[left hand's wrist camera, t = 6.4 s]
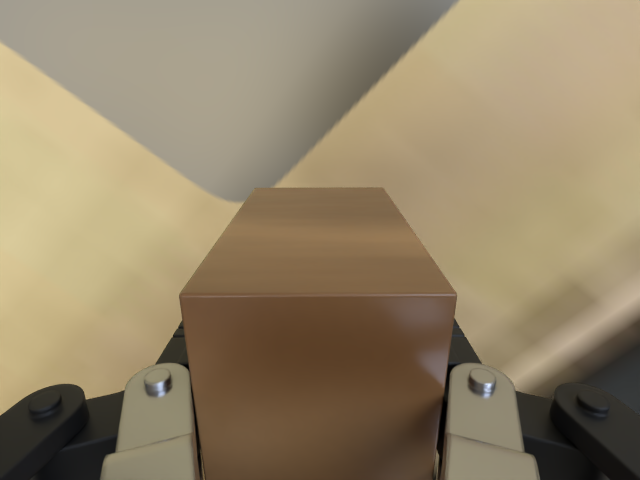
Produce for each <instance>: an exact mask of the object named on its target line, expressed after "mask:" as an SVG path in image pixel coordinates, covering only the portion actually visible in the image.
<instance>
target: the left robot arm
mask: <svg viewBox="0 0 640 480" xmlns="http://www.w3.org/2000/svg"><path fill="white" fill-rule="evenodd" d="M200 449H201V448H200V441H199V433H198V426H197V419H196V412H195V405H194V398H193V391H192V384H191V377H190V370H189V362H188V355H187V348H186V341H185V334H184V327H183V320H182V322H181V323H180V325H179V327H178V329H177V330H176V331H175V333H174V335H173V338H171V340H170V341H169V343H168V345H167V346H166V348H165V349H164V351H163V353H162V354H161V356H160V358H159V359H158V361H157V362H156V364H155V365H153V366H150V367H147V368H145V369H143V370H141V371H140V372H138V373H137V374H135V375H134V376H133V377H132V378H131V379H130V380H129V381H128V383H127V385H126V387H125V390H124V391H121V392H118V393H114V394H110V395H106V396H101V397H97V398H92V399H88V400H86V399H85V395H84V392H83V390H82V389H81V387H79V386H77V385H73V384H59V385H54V386H49V387H46V388H43V389H41V390H38V391H36V392H34V393H32V394H30V395H28V396H27V397H25V398H24V399H22V400H21V401H19V402H18V403H17V404H15V405H14V406H13V407H11V408H10V409H9V410H7V411H6V412H5V413H3V414H2V415H1V416H0V480H204V478H203V466H202V458H201V451H200ZM437 451H438V454H439V458H438V466H437V478H436V480H640V416H639V415H638V414H637V413H635V412H634V411H633V410H631V409H630V408H629V407H627V406H626V405H625V404H623V403H622V402H621V401H619V400H618V399H617V398H615V397H614V396H612V395H610V394H609V393H607V392H605V391H603V390H601V389H598V388H596V387H593V386H590V385H586V384H581V383H565V384H561V385H560V386H558V387H557V388H556V390H555V392H554V396H553V400H552V399H548V398H543V397H539V396H534V395H530V394H525V393H521V392H518V391H515V387H514V385H513V383H512V381H511V380H510V379H509V378H508V377H507V376H506V375H505V374H503V373H502V372H500V371H499V370H497V369H495V368H493V367H490V366H487V365H484V364H482V363H481V362H480V360H479V358H478V357H477V355H476V353H475V352H474V350H473V348H472V347H471V345H470V343H469V342H468V340H467V338H466V337H464V333H463V332H462V330H461V328H459V325H458V323H457V322H456V320H455V318H454V322H453V330H452V337H451V345H450V352H449V360H448V367H447V375H446V382H445V390H444V397H443V405H442V412H441V420H440V427H439V435H438V442H437Z"/></svg>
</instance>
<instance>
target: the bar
mask: <svg viewBox="0 0 640 480" xmlns="http://www.w3.org/2000/svg"><path fill="white" fill-rule="evenodd" d="M179 299H180V306H181V313H182V320H183V327H184V334H185V341H186V348H187V355H188V362H189V370H190V377H191V384H192V391H193V398H194V405H195V412H196V419H197V426H198V433H199V441H200V448H201V455H202V462H203V469H204V476H205V480H433V472H434V465H435V457H436V450H437V442H438V435H439V427H440V420H441V412H442V405H443V397H444V390H445V382H446V375H447V367H448V360H449V352H450V345H451V337H452V330H453V322H454V315H455V307H456V300H457V294H456V292H455V290H454V289H453V288H452V286H451V285H450V283H449V282H448V280H447V279H446V277H445V276H444V275H443V273H442V272H441V270H440V269H439V267H438V266H437V265H436V263H435V262H434V260H433V259H432V257H431V256H430V254H429V253H428V252H427V250H426V249H425V247H424V246H423V244H422V243H421V241H420V240H419V239H418V237H417V236H416V234H415V233H414V231H413V230H412V228H411V227H410V226H409V224H408V223H407V221H406V220H405V218H404V217H403V215H402V214H401V213H400V211H399V210H398V208H397V207H396V205H395V204H394V203H393V201H392V200H391V198H390V197H389V195H388V194H387V192H386V191H385V190H384V188H255V189H254V190H253V191H252V193H251V194H250V196H249V197H248V198H247V200H246V201H245V203H244V204H243V205H242V207H241V208H240V210H239V211H238V212H237V214H236V215H235V217H234V218H233V219H232V221H231V222H230V224H229V225H228V226H227V228H226V229H225V231H224V232H223V234H222V235H221V236H220V238H219V239H218V241H217V242H216V243H215V245H214V246H213V248H212V249H211V250H210V252H209V253H208V255H207V256H206V257H205V259H204V260H203V262H202V263H201V264H200V266H199V267H198V269H197V270H196V271H195V273H194V274H193V276H192V277H191V279H190V280H189V281H188V283H187V284H186V286H185V287H184V288H183V290H182V291H181V293H180V295H179Z"/></svg>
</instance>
